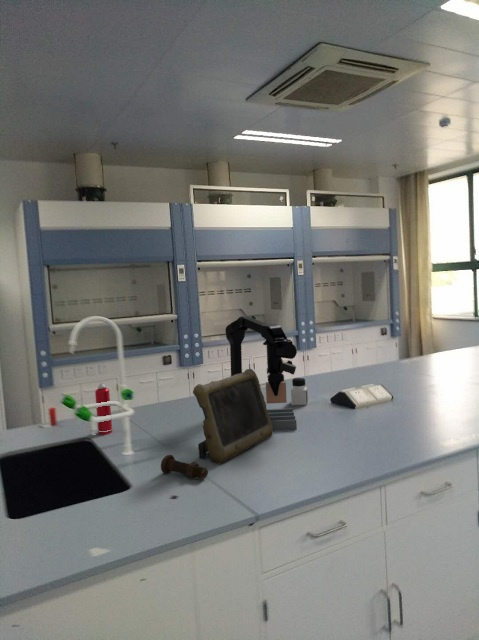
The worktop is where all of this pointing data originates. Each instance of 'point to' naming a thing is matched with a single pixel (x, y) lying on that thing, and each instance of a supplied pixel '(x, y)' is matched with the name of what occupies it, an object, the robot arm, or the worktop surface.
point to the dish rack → (282, 419)
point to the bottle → (103, 408)
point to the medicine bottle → (299, 392)
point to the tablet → (232, 416)
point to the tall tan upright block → (281, 394)
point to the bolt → (183, 468)
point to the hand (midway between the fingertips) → (275, 394)
